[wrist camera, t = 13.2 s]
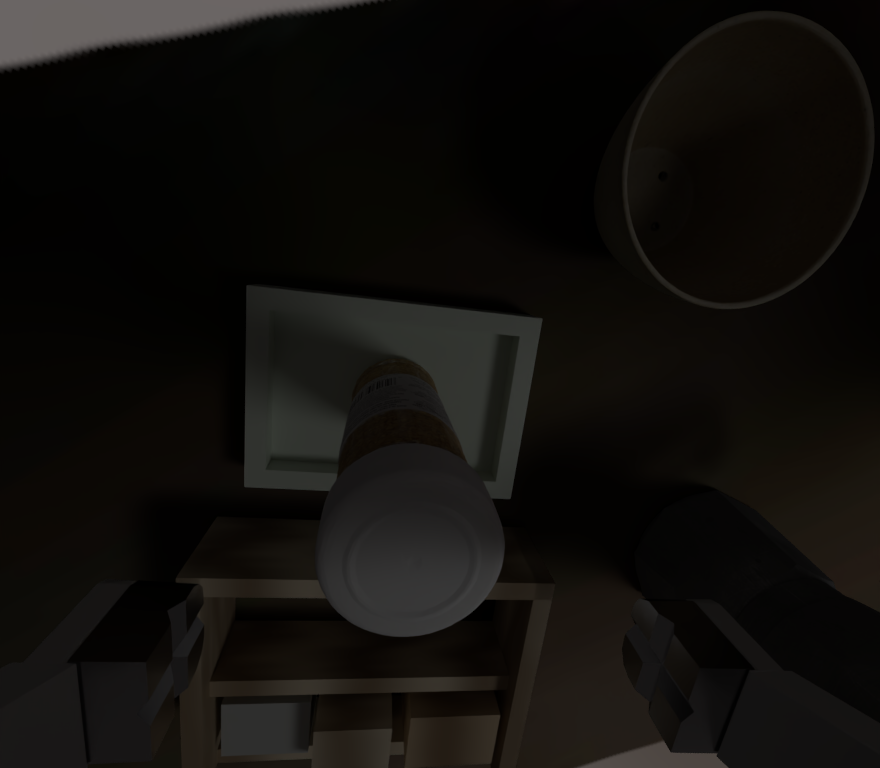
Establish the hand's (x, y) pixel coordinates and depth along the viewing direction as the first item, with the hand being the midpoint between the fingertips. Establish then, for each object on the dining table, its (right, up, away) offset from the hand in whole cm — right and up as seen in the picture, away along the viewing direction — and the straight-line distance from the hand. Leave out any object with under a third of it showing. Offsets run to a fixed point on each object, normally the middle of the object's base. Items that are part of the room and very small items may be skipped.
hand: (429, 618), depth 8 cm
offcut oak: (0, -14, +21) cm, 25 cm away
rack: (-4, -11, +19) cm, 22 cm away
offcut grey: (-10, -13, +19) cm, 25 cm away
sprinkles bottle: (-2, +4, +15) cm, 16 cm away
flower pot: (+11, +14, +15) cm, 23 cm away
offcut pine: (-5, -14, +20) cm, 25 cm away
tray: (-2, +4, +15) cm, 16 cm away
